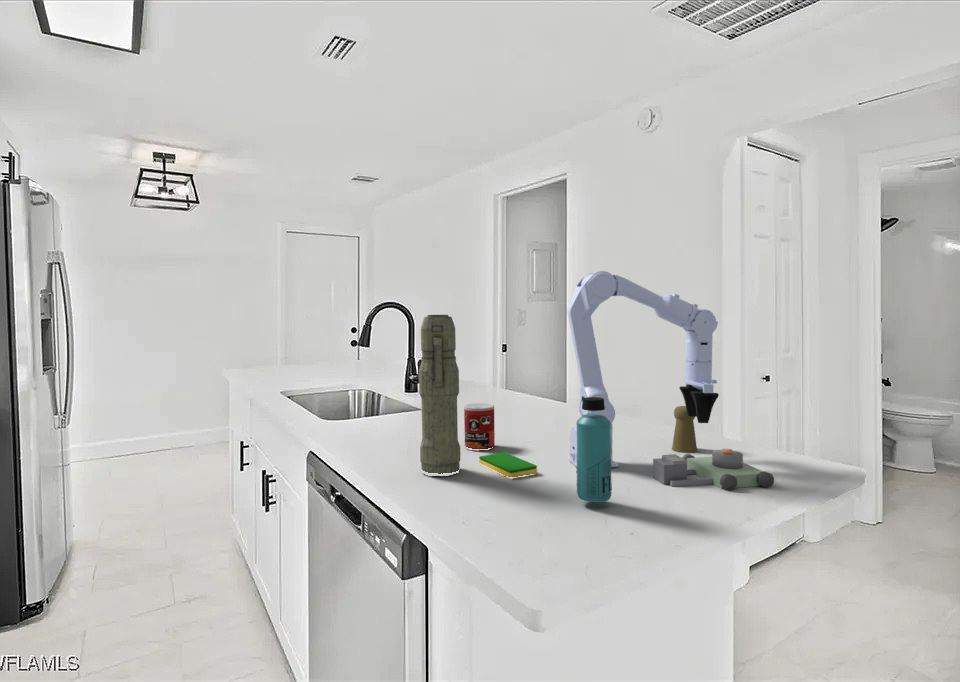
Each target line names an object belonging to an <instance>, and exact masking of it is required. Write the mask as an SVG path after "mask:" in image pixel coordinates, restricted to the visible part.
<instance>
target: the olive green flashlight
mask: <svg viewBox="0 0 960 682" xmlns="http://www.w3.org/2000/svg"><path fill="white" fill-rule="evenodd" d="M421 323H422V324H421V327H420V350H421V358H420V360H421V362H420V365H419V368H418V388H419V389H418V390H419V391H418V392H419V396H420V398H421V429H422V430H421V432H422V433H421V436H422V437H421V438H422V439H421V442H420V446H419V458H420V464H421V467H420V468H421V469H422V470H423V471H425V472H428V473H438V474H441V473H442V474H443V473H452V472H456V471H458V470H459V468H461V467H460V465H461V464H460V462H461V445H460V442H459V437H458V436H459V433H458V431H459V430H458V396H459V394H460V370H459V367H458V363H457V356H456V350H457V349H456V347H457V346H456V344H457V343H456V326H455V323H454V321H453V317H452V316H449V314H427V315H426V316H424V317H423V319H422V322H421Z"/></svg>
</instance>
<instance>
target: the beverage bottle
mask: <svg viewBox="0 0 960 682" xmlns="http://www.w3.org/2000/svg"><path fill="white" fill-rule="evenodd" d="M582 409H583V410H588V411H601V410H605V406H604V399H603V398H600V397H586V398H583V402H582ZM610 425H611V422H610V421H609V420H608V419H607V418H606V417H605V416H603V415H597V414H587V415H583V416H582V415H581V416H580V417H579V418H578V419H577V420H576V427H577V454H576V455H577V467H576V476H575V477H576V483H575V484H576V494H577V497H578V498H579V499H580V500H581V501H584V502H590V503H603V502H608V501H610V499H611V497H612V489H613V485H612V467H611V452H612V453H613V450H612V451H611V448H612V449H613V446H612V447H611V443H612V444H613V441H612V442H611V433H610Z"/></svg>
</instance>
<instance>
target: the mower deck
mask: <svg viewBox="0 0 960 682" xmlns="http://www.w3.org/2000/svg"><path fill="white" fill-rule="evenodd" d="M711 454H712V455H711V456H702V457H695V456H694V455H693V454H691V453H685V454H684V455H683V456H682V457H681V458H683V459H685V460H687V476H688V475H696V476H698V477H700V478H689V479H688V478H687V479H686V480H670V484H669V486H670V487H684V486H685V487H686V486H700V485H701V486H702V485H715V486H716V487H718V488H720V489H725V490H727V491H733V490H735V489H736V488H746V487H747V488H748V487H749V486H751V487H763V488H766V489H767V488H771V487H772V486H773V485H774V483H775V477H774V475H773V474H771V472H767V471H765V470H762V469H758V468H757V467H755V466H752V465H750V464H747V463H745V462H744V454H743V453H742V452H739V451H734V449H731V448H723V449H718V450H713V451H712V452H711Z"/></svg>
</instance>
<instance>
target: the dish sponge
mask: <svg viewBox="0 0 960 682" xmlns="http://www.w3.org/2000/svg"><path fill="white" fill-rule="evenodd" d="M478 458H479V463H481V464H483V465H485V466H487V467H489V468H491V469H493V470H495V471H497V472H499V473H501V474H503V475H505V476H508V477H518V476H523V475H530V474H536V473H537V474H538V468H537V467H538V466H537V465H536V464H534V463H531V462H529V461H527V460H525V459H522V458H519V457H516V456H515V455H513V454H510V453H508V452H498V453H492V454H486V455H480V456H479V457H478ZM479 463H478V464H479Z"/></svg>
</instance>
